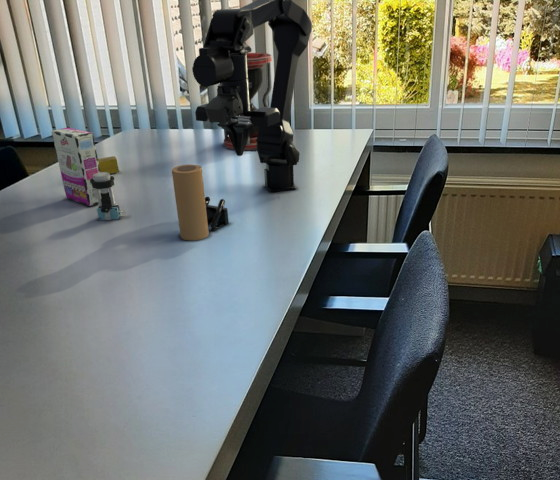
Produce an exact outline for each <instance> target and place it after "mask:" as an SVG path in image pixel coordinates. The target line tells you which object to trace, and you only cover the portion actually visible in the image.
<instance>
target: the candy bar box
mask: <svg viewBox="0 0 560 480" xmlns="http://www.w3.org/2000/svg"><path fill="white" fill-rule="evenodd" d="M51 136H52V140H53V144H54V149H55V154H56V157H57V158H56V159H57V162H58V167H59V171H60V175H61V176H60V177H61V181H62V184H63V188H64V189H63V190H64V192H65V198H66V199H67V200H70V201H73V202H76V203H79V204H82V205H85V206H88V207H92V206H96V205H98V204H99V202H98V198H97V193H96V188H93V187H92V183H90V179H92V178H93V175H94V174H96V173H100V168H99V162H98V159H99V158H98V152H97V147H96V142H95V137H94V136H95V135H94V132H90V131H86V130H82V129H78V128H77V129H76V128H73V127H64V128H59V129H54V130H51ZM100 194H101V191H100Z"/></svg>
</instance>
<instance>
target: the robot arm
mask: <svg viewBox="0 0 560 480" xmlns="http://www.w3.org/2000/svg"><path fill="white" fill-rule="evenodd" d="M266 23H267V25H268V26H269V28H270V29H271V30H272V32H273V39H272V40H273V42H274V45H275V48H276V51H277V58H276V65H275V70H274V71H275V72H274V78H273V83H272V84H273V86H272V90H271V91H272V92H271V98H270V106H269V107H264V106H262V107H259V108H257V109H256V110H254V111H250V109H253V105H254V103H253V102H251V103H249V89H250V88H252V83H249V82H248V71H247V54H246V53H252V48H251V46H250V45H248V44H247V41H248V40H249V39H250V38H251V37H253V35H254V32H255V29H256V28H258V27H260V26H262V25H264V24H266ZM312 31H313V23H312V20H311V18H310V17H309V15H308V14H307V12H306V10H305V9H304V8H303V7H301V6H300V5H298V4H297V3H295V1H293V0H254V1H252V2H250V3H248V4H246V5H243V6H242V7H239V8H224V9H216V10H214V12H213V13H212V18H211V19H210V23H209V25H208V29H207V33H206V35H205V38H204V39H205V40H204V43H203V46H202V47H199V48H198V55H197V56H196V57H195V59H194V61H193V64H192V68H191V70H192V75H193V78H194V80H195V81H196V82H197V84H198V85H199V86H201V87H203V88H208V87H212V86H215V85H217V89H216V91H217V92H216V96H214V97H213V98H212V99H211V100H210V101H209V102H208V103H204V104H201V105H198V106H197V107H196V110H195V112H194V115H195V121H198V122H209V123H211V124H214V123H216V125H217V127H219V128H221V129H222V130H223V131H224V130H225V131H226V132H227V134H228V136H229V138H230V140H231V142H232V145H233V147H234V149H235V150H234V149H233V150H234V152H235V155H236V156H237V157H241V156H243V155H244V152H245V150H244V149H245V146H246V143H247V141H248V138H249V135H250V133H251V131H252V129H253V126H259V128H258V137H257V140H256V142H257V144H256V148H257V150H256V151H257V155H258V158H259V162H260V164H265V165H266V166H265V168H264V169H263V170H264V171H263V172H264V185H265V187H266V188H267V190H269V191H270V193H274V192H275V193H276V192H283V191H284V192H285V191H291V190H293V191H294V190H296V189H297V187H296V186H295V180H294V179H295V177H294V166H297V165H298V163H299V162H300V151H299V150H298V148H297V147H296V145H295V144H294V133H293V130H292V127H291V125H290V116H291V110H292V103H293V96H294V90H295V85H296V77H297V72H298V65H299V59H300V57H301V55H302V54H303V53H304V51H305V50H306V48H307V47H308V45H309V41H310V37H311V34H312ZM220 83H221V85H220ZM240 114H241V115H240ZM242 114H243V115H242Z"/></svg>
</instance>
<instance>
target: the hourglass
mask: <svg viewBox="0 0 560 480" xmlns="http://www.w3.org/2000/svg"><path fill="white" fill-rule="evenodd" d="M246 54H247V71H248V82H249V83H252V88H250V89H249V103H252V100H253V98H254V97H256V95H257V93H258V92H259V90H260V89H261V87H262V85H263V83H264V69H263V67H264V66H265V65H266V76H267V78H266V79H267V88H266V91H265V93H264V94H263V97H262V105H263V107H269V108H270V106H269V104H268V97H269V95H270V93H272V92H271V91H272V89H273V86H272V84H273V83H272V60H273V59H272V54H271V53H266V52H249V53H246ZM219 85H221V83H219ZM256 109H258V108H257V107H256V106H255V105H254V104H253V109H250V111H254V110H256ZM240 115H241V114H240ZM242 115H243V114H242ZM258 128H259V126H253V129H252V131H251V133H250V135H249V138H248V141H247V143H246V146H245V149H244V151H257V148H256V144H257V142H256V140H257V137H258ZM223 137H224V139H223V145H224V147H225V148H227V149H228V150H234V151H235V149H234V147H233V145H232V142H231V140H230V138H229V136H228V134H227V132H226V131H225V130H224V129H223Z"/></svg>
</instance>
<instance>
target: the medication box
mask: <svg viewBox="0 0 560 480" xmlns="http://www.w3.org/2000/svg"><path fill="white" fill-rule="evenodd" d="M98 162H99V168H100V172H107V173H109V174H110V175H111V174H117V173H120V170H119V163H118V159H117V157H116V156H115V155H112V156H106V157H100V158H98Z"/></svg>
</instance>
